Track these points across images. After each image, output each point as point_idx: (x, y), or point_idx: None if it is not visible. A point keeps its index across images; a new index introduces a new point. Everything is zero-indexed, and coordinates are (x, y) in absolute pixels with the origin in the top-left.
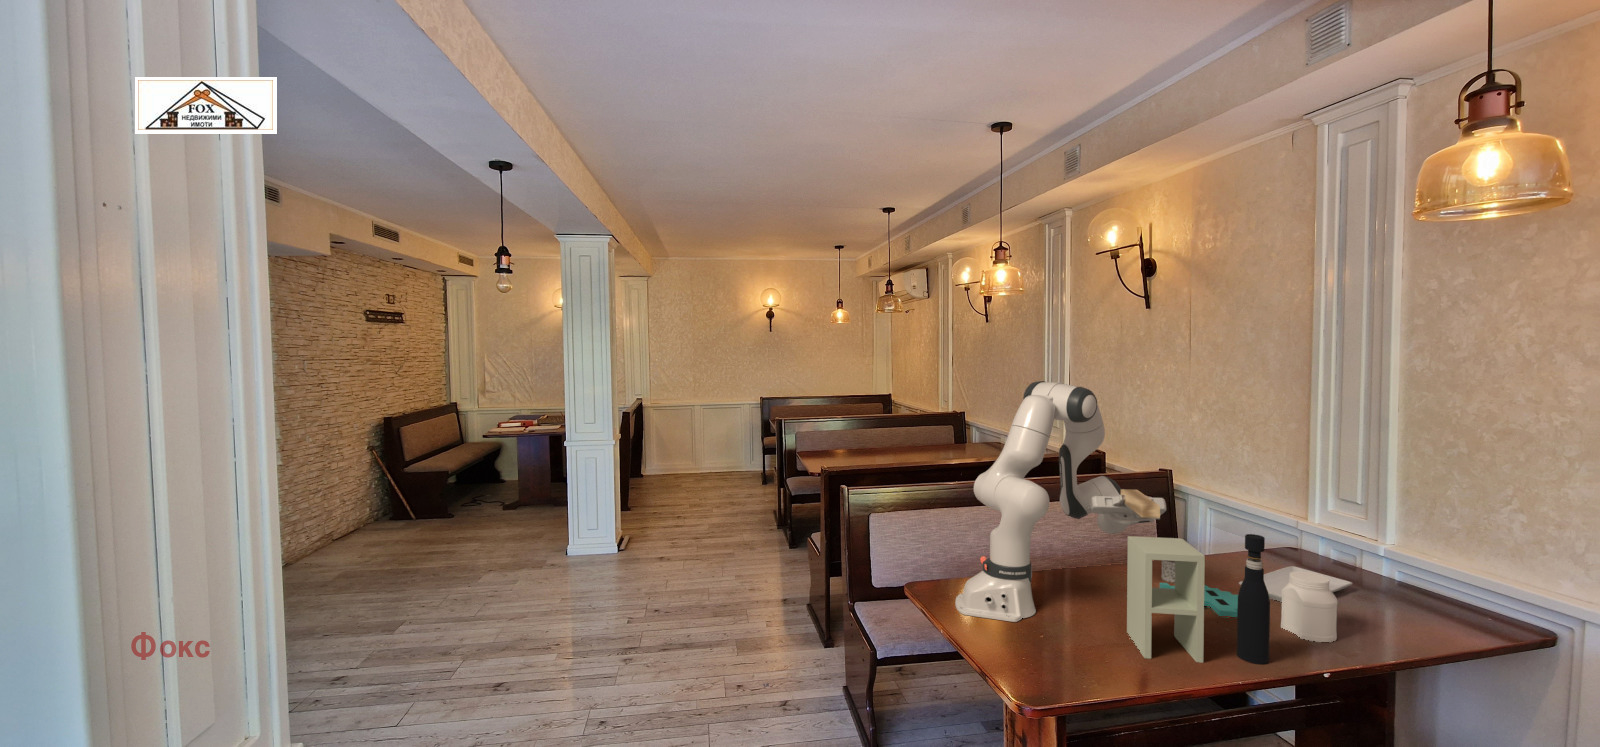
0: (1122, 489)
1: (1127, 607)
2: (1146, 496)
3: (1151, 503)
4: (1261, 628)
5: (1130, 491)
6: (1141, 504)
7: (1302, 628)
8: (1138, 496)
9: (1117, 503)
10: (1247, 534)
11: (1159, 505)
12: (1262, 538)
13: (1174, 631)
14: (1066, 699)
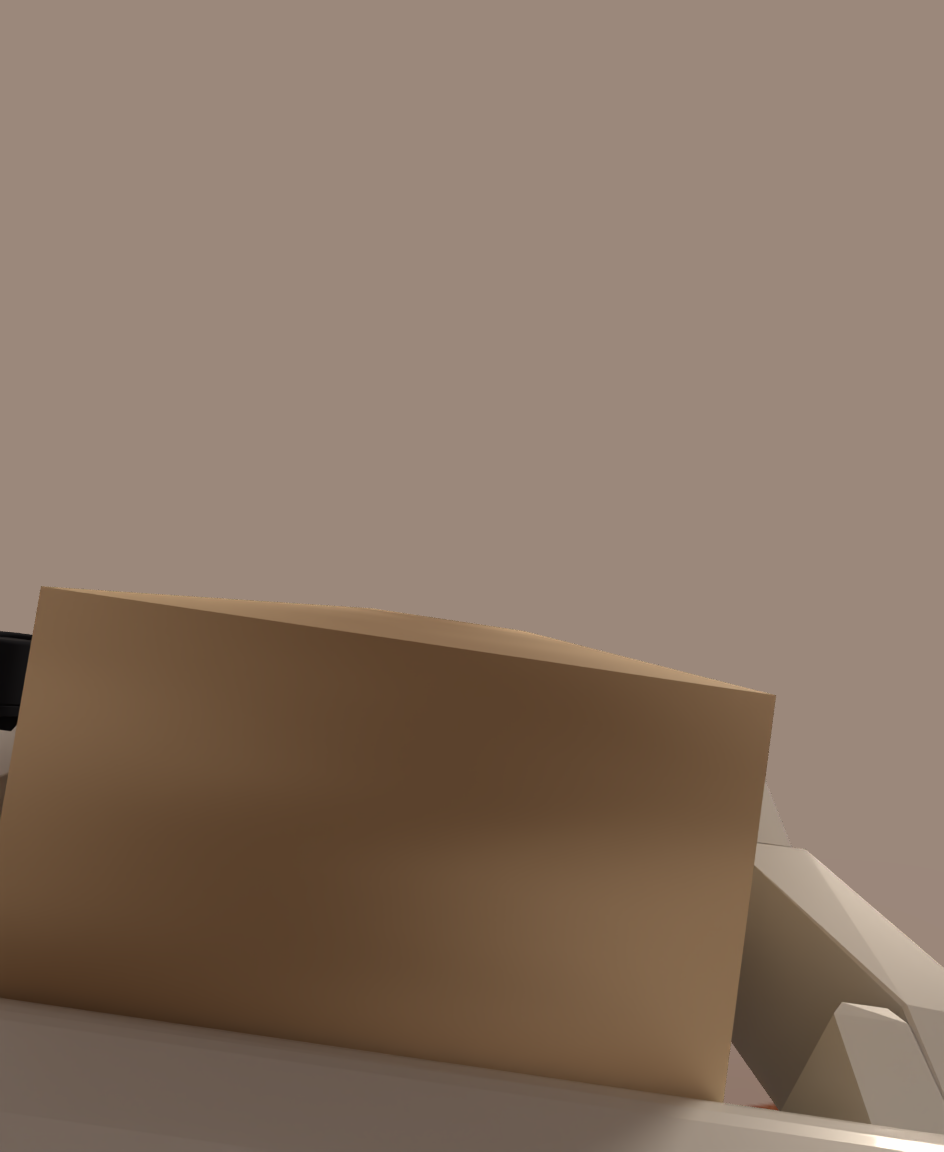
0: (691, 683)
1: None
2: (308, 604)
3: (412, 615)
4: None
5: (459, 636)
6: (518, 630)
7: None
8: (438, 623)
9: (777, 1075)
10: (14, 640)
11: (370, 608)
12: (8, 632)
13: None
14: (767, 1108)
